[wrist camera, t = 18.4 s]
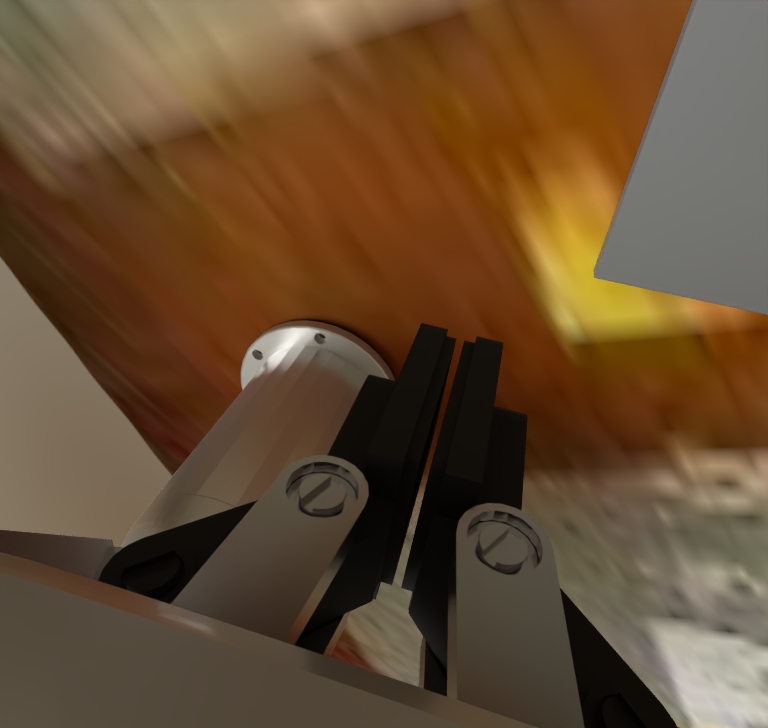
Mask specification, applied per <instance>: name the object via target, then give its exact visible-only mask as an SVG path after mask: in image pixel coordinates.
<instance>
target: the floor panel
mask: <svg viewBox="0 0 768 728" xmlns="http://www.w3.org/2000/svg"><path fill="white" fill-rule="evenodd" d="M594 278H598V279H603V280H607V281H612V282H617V283H621V284H626V285H631V286H635V287H640V288H645V289H649V290H654V291H659V292H664V293H668V294H673V295H678V296H682V297H687V298H692V299H696V300H701V301H706V302H710V303H715V304H720V305H724V306H729V307H734V308H739V309H743V310H748V311H753V312H757V313H762V314H767V315H768V0H693V1H692V3H691V6H690V9H689V12H688V14H687V17H686V20H685V23H684V25H683V28H682V31H681V33H680V36H679V39H678V42H677V44H676V47H675V50H674V53H673V55H672V58H671V61H670V63H669V66H668V69H667V72H666V74H665V77H664V80H663V83H662V85H661V88H660V91H659V93H658V96H657V99H656V102H655V104H654V107H653V110H652V112H651V115H650V118H649V121H648V123H647V126H646V129H645V132H644V134H643V137H642V140H641V142H640V145H639V148H638V151H637V153H636V156H635V159H634V162H633V164H632V167H631V170H630V172H629V175H628V178H627V181H626V183H625V186H624V189H623V192H622V194H621V197H620V200H619V202H618V205H617V208H616V211H615V213H614V216H613V219H612V222H611V224H610V227H609V230H608V232H607V235H606V238H605V241H604V243H603V246H602V249H601V252H600V254H599V257H598V260H597V262H596V265H595V268H594Z"/></svg>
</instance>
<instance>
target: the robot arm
mask: <svg viewBox="0 0 768 728" xmlns="http://www.w3.org/2000/svg"><path fill="white" fill-rule="evenodd" d="M447 331H448V329H444V328H440V327H436V326H432V325H427V324H423V323H421V325H420V328H419V330H418V333H417V335H416V337H415V340H414V342H413V344H412V347H411V349H410V352H409V354H408V356H407V359H406V361H405V363H404V366H403V368H402V371H401V373H400V375H399V378H398V380H397V381H396V380H395V378H394V376H393V374H392V372H391V371H390V369H389V367H388V366H387V364H386V363H385V362H384V361H383V359H382V358H381V357H380V355H379V354H378V353H377V352H376V351H374V350H373V349H372V348H371V347H370V346H369V345H368V344H367V343H365V342H364V341H362V340H361V339H360V338H358V337H357V336H355V335H354V334H352V333H350V332H348V331H345V330H343V329H341V328H339V327H337V326H333V325H330V324H326V323H323V322H316V321H307V320H302V321H290V322H286V323H282V324H279V325H276V326H274V327H272V328H270V329H269V330H267V331H265V332H264V333H263V334H262V335H261V336H260V337H259V338H258V339H256V341H255V342H254V343H253V344H252V345H251V346H250V348H249V349H248V351H247V353H246V355H245V357H244V359H243V362H242V368H241V386H242V392H241V393H240V394H239V395H238V396H237V398H236V399H235V400H234V401H233V403H232V404H231V405H230V406H229V407H228V409H227V410H226V411H225V412H224V414H223V415H222V416H221V417H220V419H219V420H218V421H217V422H216V423H215V425H214V426H213V427H212V428H211V430H210V431H209V432H208V433H207V434H206V436H205V437H204V438H203V439H202V441H201V442H200V443H199V444H198V446H197V447H196V448H195V449H194V450H193V452H192V453H191V454H190V455H189V457H188V458H187V459H186V460H185V461H184V463H183V464H182V465H181V466H180V468H179V469H178V470H177V471H176V473H175V474H174V475H173V476H172V477H171V479H170V480H169V481H168V482H167V484H166V485H165V486H164V487H163V489H162V490H161V491H160V492H159V494H158V495H157V496H156V497H155V499H154V500H153V501H152V502H151V504H150V505H149V506H148V507H147V508H146V510H145V511H144V512H143V513H142V515H141V516H140V517H139V518H138V520H137V521H136V522H135V523H134V525H133V526H132V528H131V529H130V530H129V532H128V534H127V536H126V538H125V540H124V542H123V544H122V546H121V547H114V545H113V541H112V540H110V539H99V538H87V537H76V536H64V535H53V534H42V533H41V534H40V533H30V532H18V531H8V530H0V728H679V727H677V726H676V724H675V722H674V720H673V719H672V718H671V716H670V715H669V713H668V712H667V711H666V709H665V708H664V706H663V705H662V704H661V703H660V701H659V700H658V699H657V698H656V697H655V696H654V695H653V693H652V692H651V691H650V690H649V689H648V688H647V687H646V685H645V684H644V683H643V682H642V681H641V680H640V679H639V677H638V676H637V675H636V674H635V673H634V672H633V671H632V669H631V668H630V667H629V666H628V665H627V664H626V663H625V661H624V660H623V659H622V658H621V657H620V656H619V655H618V653H617V652H616V651H615V650H614V649H613V648H612V647H611V645H610V644H609V643H608V642H607V641H606V640H605V639H604V637H603V636H602V635H601V634H600V633H599V632H598V631H597V629H596V628H595V627H594V626H593V625H592V624H591V623H590V621H589V620H588V619H587V618H586V617H585V616H584V615H583V613H582V612H581V611H580V610H579V609H578V608H577V607H576V605H575V604H574V603H573V602H572V601H571V600H570V599H569V597H568V596H567V595H566V594H565V593H564V592H563V591H562V589H561V588H560V586H559V580H558V575H557V569H556V563H555V558H554V552H553V548H552V545H551V542H550V539H549V537H548V535H547V534H546V532H545V531H544V530H543V528H542V527H541V525H540V524H539V523H537V522H536V521H535V520H534V519H533V518H532V517H530V516H529V515H528V514H526V513H524V512H522V511H521V507H522V492H523V477H524V461H525V446H526V430H527V415H526V414H522V413H518V412H514V411H510V410H506V409H503V408H499V407H495V406H494V402H495V396H496V389H497V383H498V376H499V369H500V363H501V356H502V349H503V343H502V342H498V341H494V340H490V339H486V338H481V337H476V341H475V343H472V342H468V341H464V345H463V349H462V352H461V356H460V360H459V364H458V367H457V371H456V375H455V378H454V382H453V386H452V390H451V393H450V397H449V401H448V405H447V408H446V412H445V416H444V419H443V423H442V427H441V431H440V434H439V438H438V442H437V446H436V449H435V453H434V457H433V461H432V464H431V468H430V472H429V476H428V480H427V484H426V488H425V492H424V497H423V501H422V505H421V509H420V513H419V517H418V521H417V525H416V529H415V533H414V538H413V542H412V546H411V550H410V554H409V558H408V562H407V566H406V570H405V575H404V579H403V583H402V587H401V588H403V589H407V590H410V591H413V593H412V597H411V601H410V605H409V609H408V610H409V614H410V616H411V617H412V619H413V621H414V622H415V624H416V625H417V627H418V629H419V630H420V632H421V633H422V635H423V639H422V644H421V651H420V671H419V687H417V686H414V685H411V684H408V683H405V682H402V681H399V680H396V679H393V678H390V677H387V676H384V675H381V674H378V673H375V672H372V671H369V670H366V669H363V668H360V667H357V666H354V665H351V664H348V663H345V662H342V661H339V660H336V659H333V658H330V657H329V656H330V654H331V652H332V650H333V648H334V646H335V644H336V643H337V641H338V639H339V637H340V635H341V633H342V631H343V629H344V627H345V625H346V623H347V620H348V617H349V614H350V611H352V610H354V609H356V608H358V607H360V606H362V605H365V604H367V603H369V602H371V601H372V600H373V599H376V596H377V593H378V590H379V586H380V583H381V582H384V583H387V584H391V585H392V583H393V579H394V576H395V572H396V569H397V565H398V562H399V558H400V555H401V551H402V547H403V544H404V540H405V537H406V533H407V530H408V526H409V523H410V519H411V515H412V512H413V508H414V505H415V501H416V498H417V494H418V490H419V487H420V483H421V480H422V476H423V473H424V469H425V465H426V462H427V458H428V455H429V451H430V447H431V443H432V439H433V435H434V431H435V427H436V423H437V418H438V414H439V410H440V406H441V402H442V397H443V393H444V389H445V385H446V380H447V376H448V372H449V368H450V364H451V359H452V355H453V351H454V347H455V342H456V339H455V338H451V337H447Z"/></svg>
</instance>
